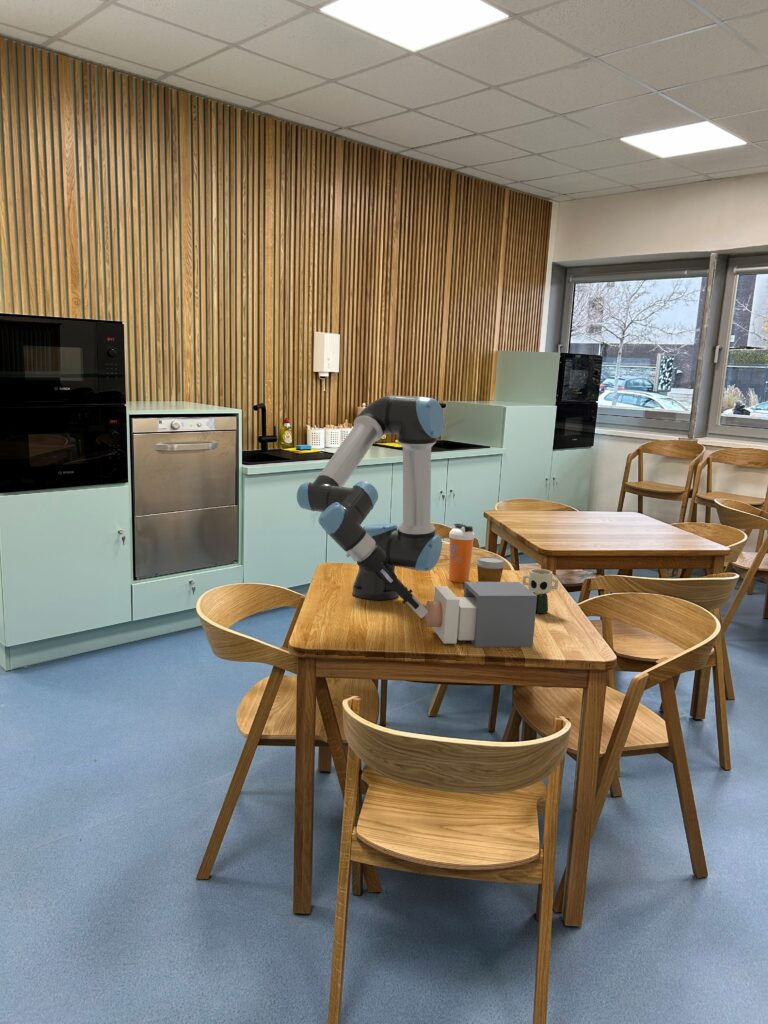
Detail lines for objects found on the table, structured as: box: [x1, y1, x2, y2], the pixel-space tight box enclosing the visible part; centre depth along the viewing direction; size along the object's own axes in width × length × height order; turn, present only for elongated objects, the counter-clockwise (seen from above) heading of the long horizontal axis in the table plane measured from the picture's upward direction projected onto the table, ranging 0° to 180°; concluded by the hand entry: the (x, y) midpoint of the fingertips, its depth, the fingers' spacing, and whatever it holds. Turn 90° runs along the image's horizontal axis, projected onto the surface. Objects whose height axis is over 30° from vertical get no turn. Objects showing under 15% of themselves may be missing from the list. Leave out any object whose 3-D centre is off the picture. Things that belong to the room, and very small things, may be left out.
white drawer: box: [424, 585, 477, 644], centre depth 205 cm, size 21×13×12 cm, turn 100°
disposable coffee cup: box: [475, 556, 506, 582], centre depth 252 cm, size 10×10×12 cm
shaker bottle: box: [448, 523, 476, 584], centre depth 267 cm, size 9×9×20 cm
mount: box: [463, 581, 537, 648], centre depth 207 cm, size 16×14×14 cm
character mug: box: [522, 568, 559, 614], centre depth 234 cm, size 11×7×13 cm, turn 69°
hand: (424, 614), depth 203 cm, fingers closed
